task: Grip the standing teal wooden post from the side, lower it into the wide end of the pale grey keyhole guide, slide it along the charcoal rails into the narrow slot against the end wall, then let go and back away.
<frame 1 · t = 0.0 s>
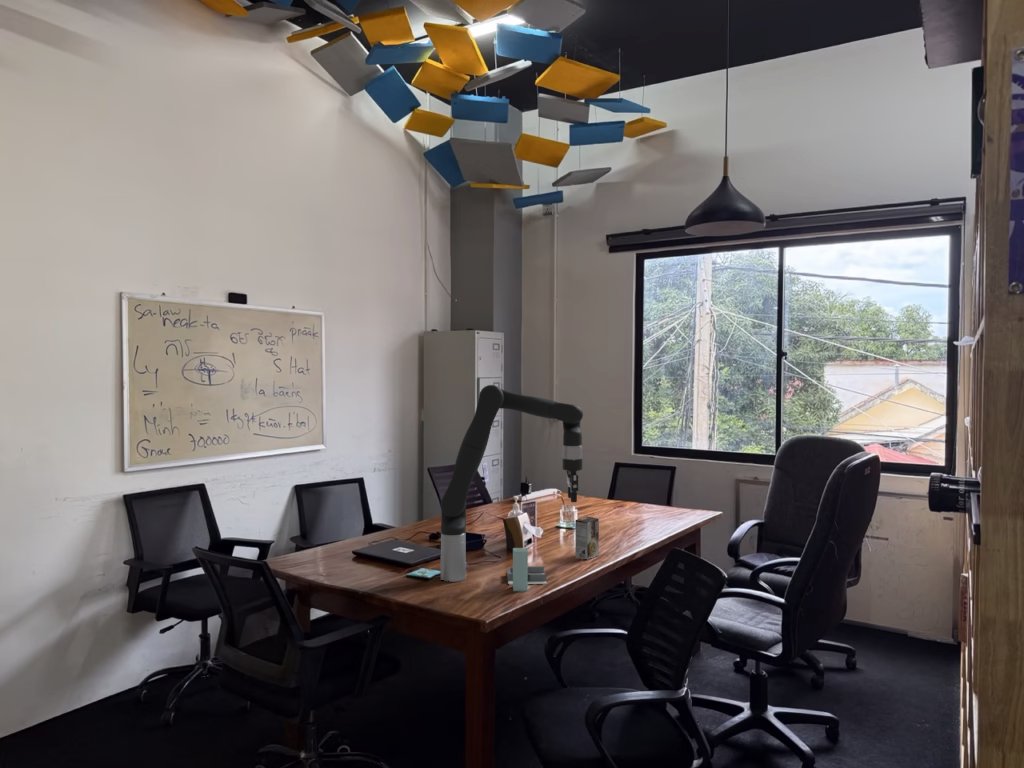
hand: (572, 500, 250), 29 cm above the table, tool pointing down, fingers open, 8 cm apart
coffee box: (587, 557, 279), on the table
keyhole guide: (526, 578, 249), on the table
teal post: (520, 588, 236), on the table
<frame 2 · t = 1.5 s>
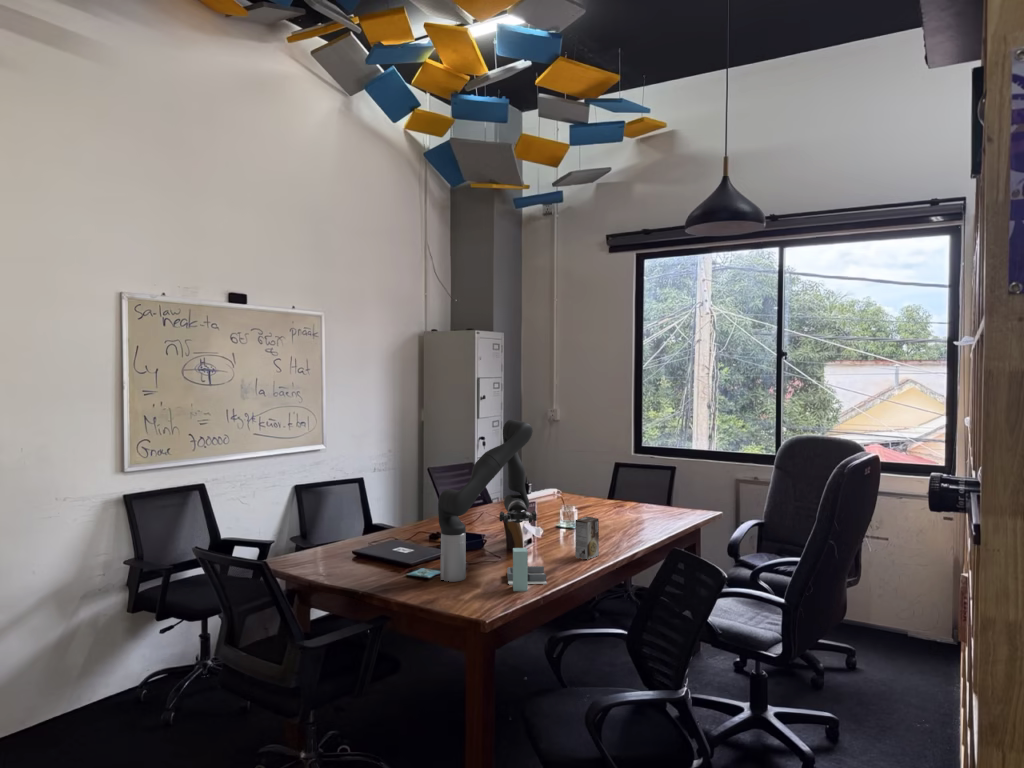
hand: (518, 520, 247), 22 cm above the table, tool horizontal, fingers open, 8 cm apart
nothing on the table moved.
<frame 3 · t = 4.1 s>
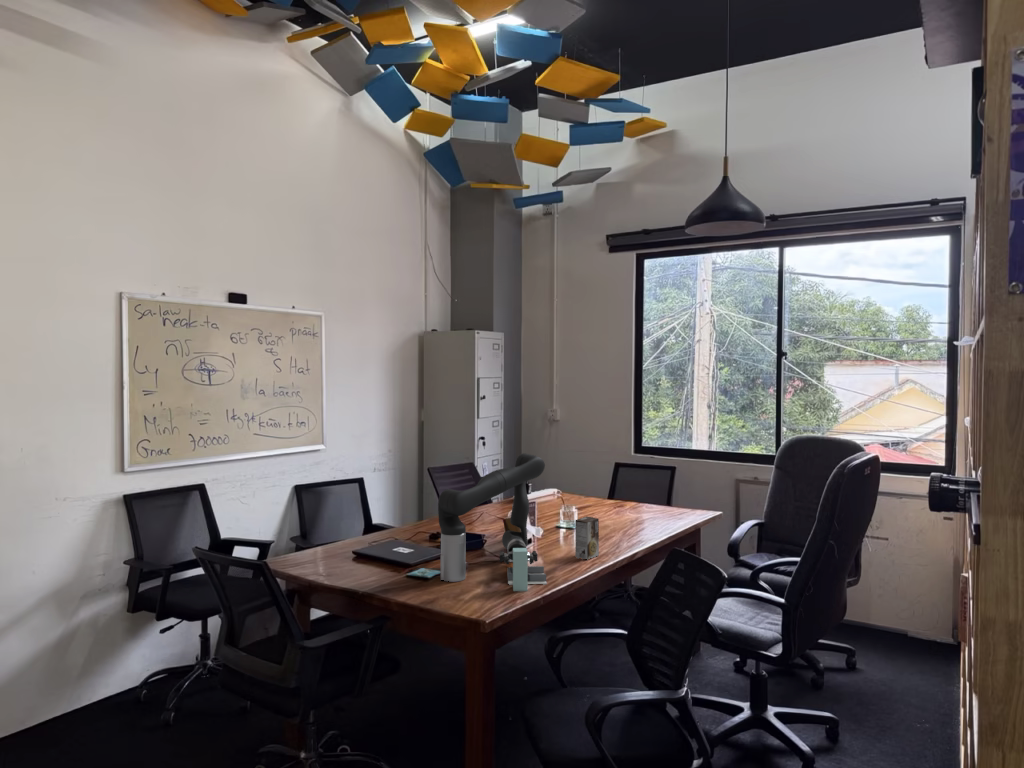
hand: (519, 561, 242), 8 cm above the table, tool horizontal, fingers open, 8 cm apart
nothing on the table moved.
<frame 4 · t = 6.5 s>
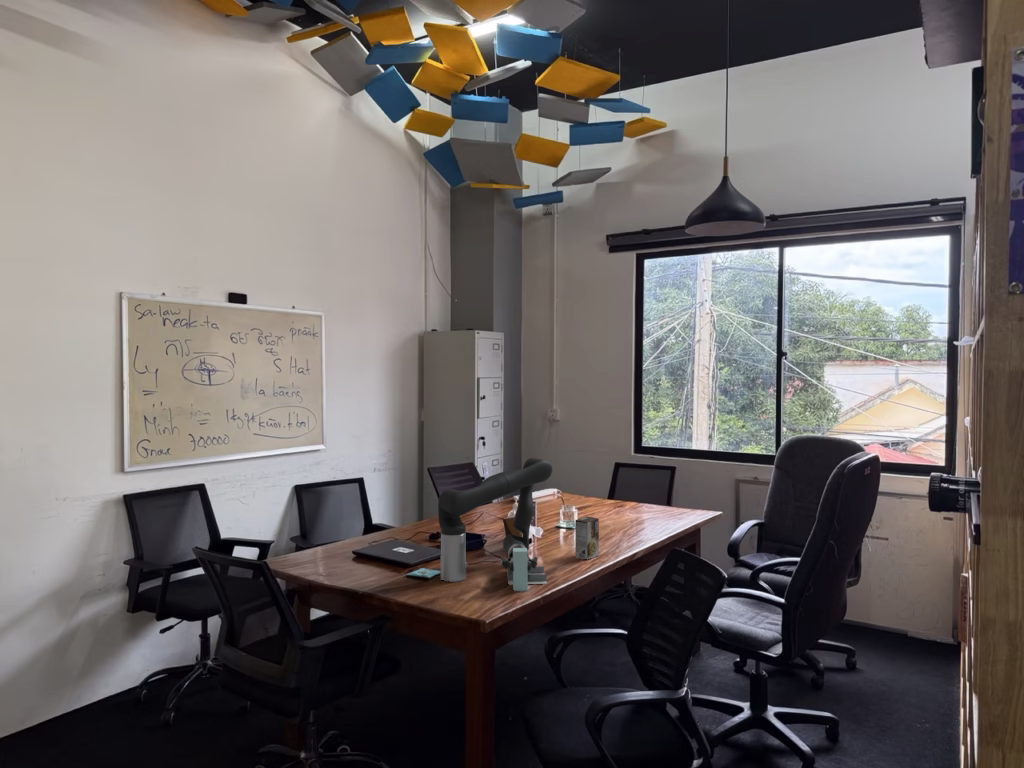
hand: (520, 568, 234), 8 cm above the table, tool horizontal, fingers closed on teal post, 5 cm apart
teal post: (520, 588, 236), on the table, touching gripper
everything else where it was.
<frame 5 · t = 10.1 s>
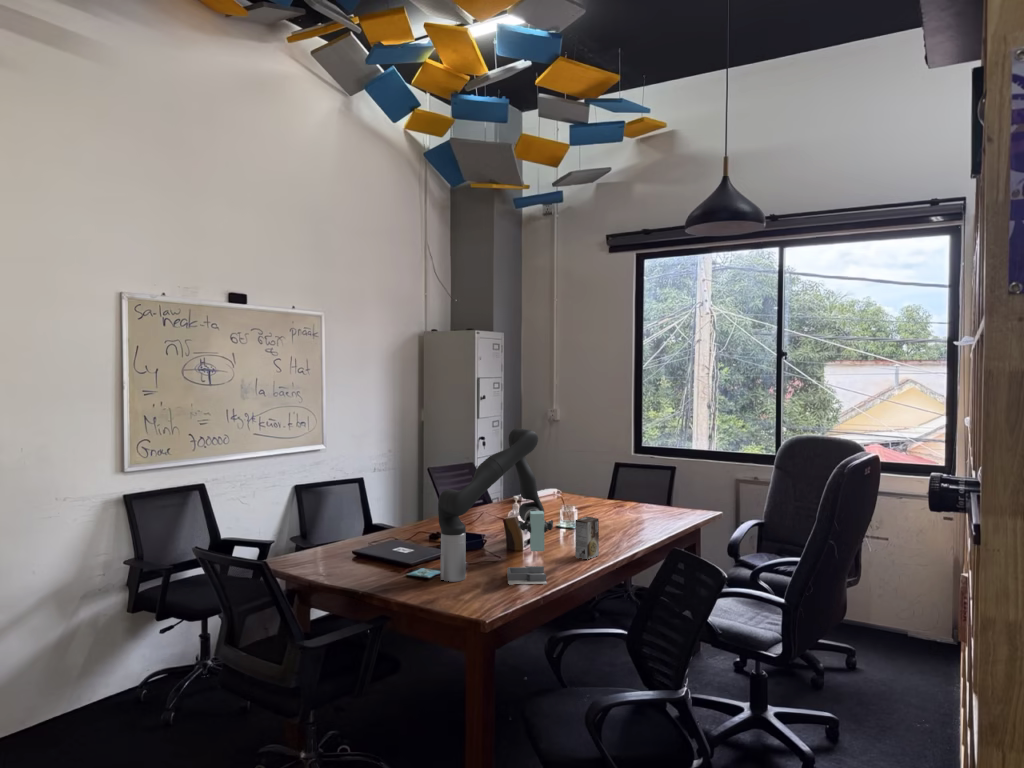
hand: (537, 529, 246), 19 cm above the table, tool horizontal, fingers closed on teal post, 5 cm apart
teal post: (537, 549, 249), point 11 cm above the table, touching gripper
everything else where it was.
when the fingers open (9 cm above the table, at t = 14.0 s): teal post stays where it is, resting on keyhole guide.
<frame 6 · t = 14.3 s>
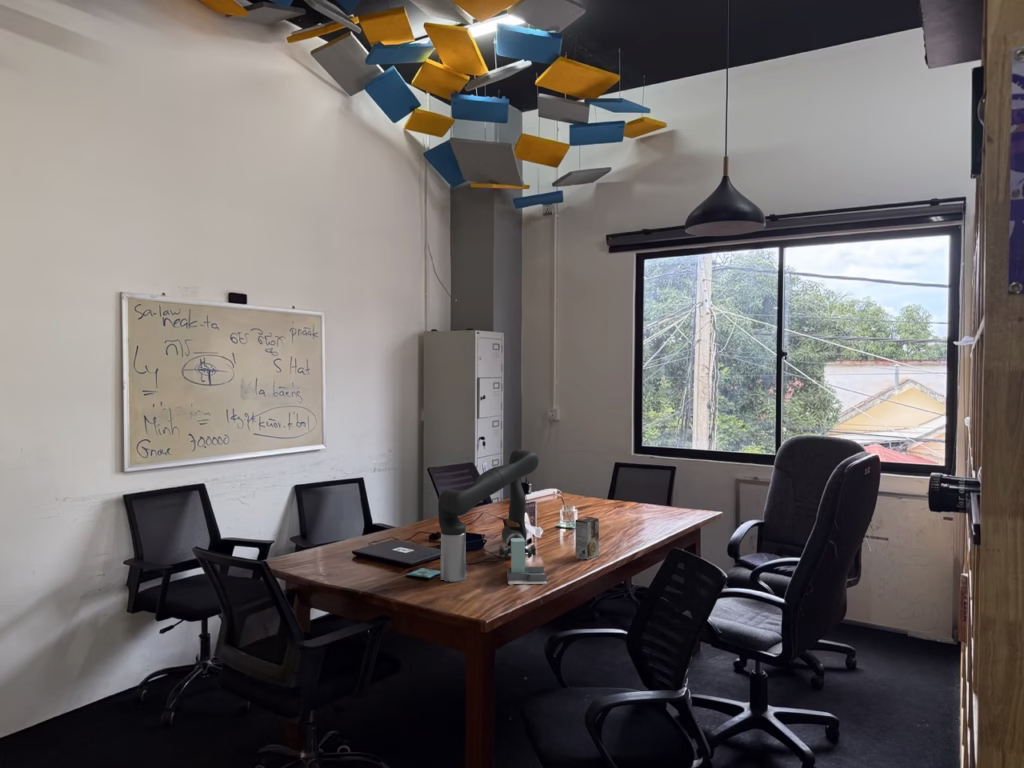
hand: (518, 555, 246), 9 cm above the table, tool horizontal, fingers open, 8 cm apart
teal post: (517, 576, 248), point 1 cm above the table, touching keyhole guide
everything else where it was.
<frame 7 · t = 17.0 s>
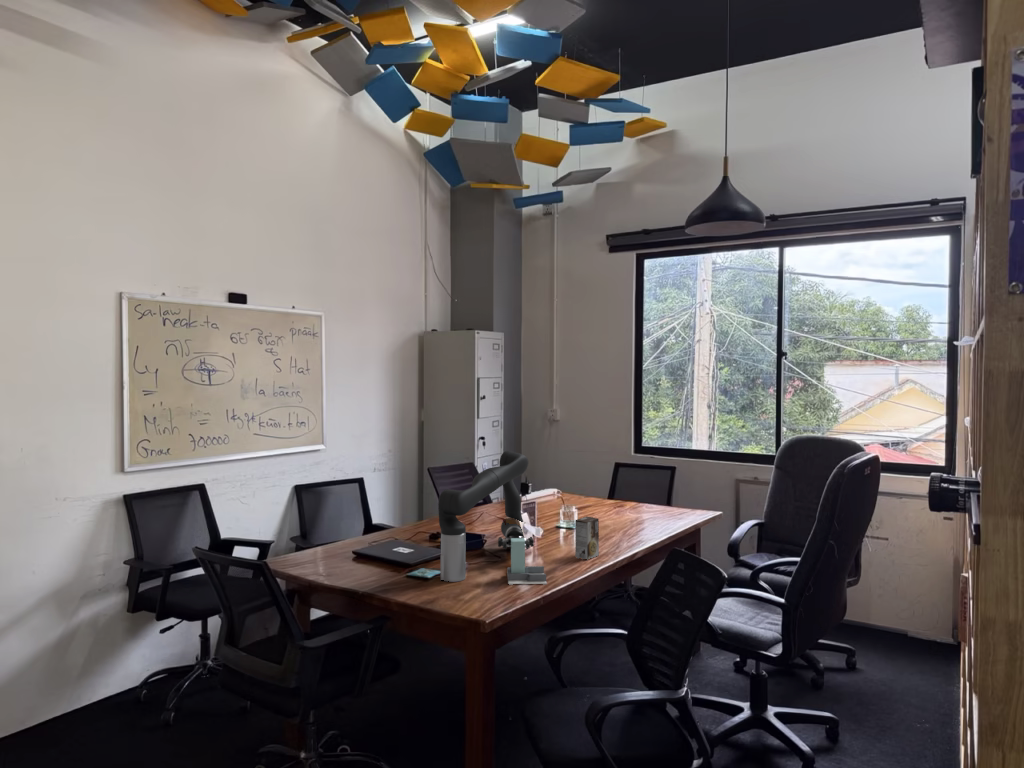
hand: (516, 546, 259), 9 cm above the table, tool horizontal, fingers open, 8 cm apart
nothing on the table moved.
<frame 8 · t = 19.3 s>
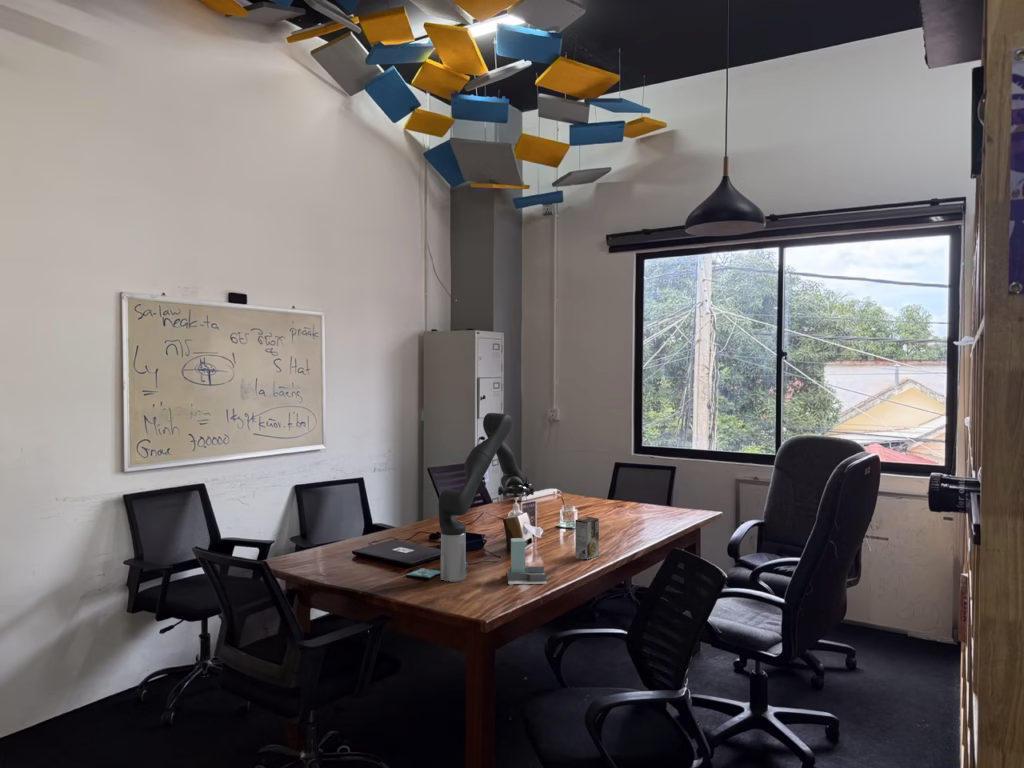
hand: (516, 493, 259), 30 cm above the table, tool horizontal, fingers open, 8 cm apart
nothing on the table moved.
at the end: teal post 0.3 cm from the target spot on the keyhole guide, point 0.6 cm above the keyhole guide's base; teal post tilted 0°; the gripper is holding nothing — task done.
